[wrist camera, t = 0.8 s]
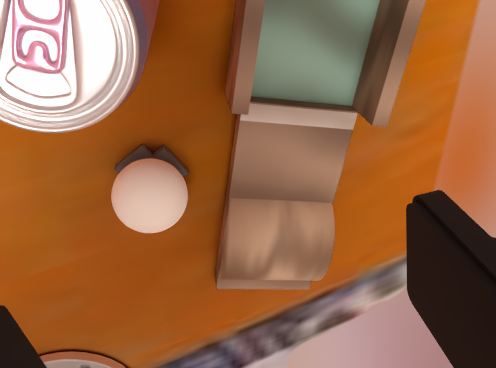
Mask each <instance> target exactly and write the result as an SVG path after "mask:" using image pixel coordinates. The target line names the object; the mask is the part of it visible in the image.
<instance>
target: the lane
mask: <svg viewBox="0 0 496 368" xmlns="http://www.w3.org/2000/svg"><path fill="white" fill-rule="evenodd" d="M425 2H426V0H236V5H235V14H234V22H233V30H232V39H231V47H230V55H229V64H228V72H227V81H226V89H225V94H226V97H227V100H228V104H229V107H230V110H231V113H232V114H237V118H236V125H235V132H234V140H233V147H232V154H231V162H230V169H229V176H228V184H227V191H226V198H225V206H224V213H223V220H222V228H221V235H220V242H219V250H218V257H217V264H216V272H215V282H216V289H305V290H309V289H310V285H311V281H318V280H321V279H322V278H323V277H324V276H325V274H326V273H327V271H328V268H329V266H330V263H331V259H332V254H333V248H334V238H335V222H334V212H333V206H332V205H333V201H334V197H335V194H336V190H337V186H338V183H339V179H340V175H341V172H342V168H343V165H344V161H345V157H346V154H347V150H348V146H349V143H350V139H351V135H352V132H353V128H354V125H355V121H356V118H357V114H358V113H360V114H361V115H362V116H363V117H364V118H365V119H366V120H367V121H368V122H369V123H370V124H371V125H372V126H382V127H387V124H388V121H389V118H390V115H391V111H392V108H393V105H394V102H395V98H396V95H397V92H398V89H399V86H400V82H401V79H402V76H403V73H404V70H405V66H406V63H407V60H408V57H409V54H410V50H411V47H412V44H413V41H414V38H415V34H416V31H417V28H418V25H419V22H420V18H421V15H422V12H423V9H424V6H425Z"/></svg>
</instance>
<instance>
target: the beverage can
mask: <svg viewBox="0 0 496 368" xmlns="http://www.w3.org/2000/svg"><path fill="white" fill-rule="evenodd" d="M159 3H160V0H0V121H2V122H4V123H7V124H9V125H12V126H15V127H18V128H21V129H25V130H29V131H34V132H40V133H65V132H72V131H77V130H80V129H84V128H86V127H89V126H91V125H93V124H96V123H97V122H99V121H101V120H103V119H104V118H105V117H107V116H108V115H109V114H111V113H112V112H113V111H114V110H116V109H117V108H118V107H119V106H120V105H122V104H123V103H124V102H125V101H126V100H127V98H128V97H129V96H130V95H131V93H132V92H133V91H134V89H135V87H136V86H137V84H138V82H139V80H140V78H141V75H142V73H143V70H144V66H145V62H146V58H147V54H148V50H149V46H150V41H151V37H152V33H153V29H154V25H155V21H156V17H157V12H158V8H159Z"/></svg>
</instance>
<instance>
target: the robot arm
mask: <svg viewBox="0 0 496 368" xmlns="http://www.w3.org/2000/svg"><path fill="white" fill-rule="evenodd" d="M406 229H407V291H408V295H409V298H410V300H411V302H412V304H413V306H414V307H415V309H416V310H417V312H418V313H419V315H420V316H421V318H422V319H423V321H424V323H425V324H426V326H427V327H428V329H429V330H430V332H431V333H432V335H433V336H434V338H435V340H436V341H437V343H438V344H439V346H440V347H441V349H442V350H443V352H444V353H445V355H446V356H447V358H448V360H449V361H450V363H451V364H452V366H453V367H454V368H496V238H493V237H491V236H490V235H488V234H487V233H486V232H485V231H484V230H483V229H482V228H481V227H480V226H479V225H478V224H477V223H475V221H473V220H472V218H470V217H469V216H468V215H467V214H466V213H465V212H464V211H463V210H462V209H461V208H460V207H459V206H458V205H457V204H456V203H455V202H454V201H453V200H451V199H450V198H449V197H448V196H447V195H446V194H445V193H444V192H443V191H440V190H437V191H433V192H429V193H425V194H421V195H417V196H415V197H414V198H413V203H411V204H408V205H407V208H406ZM0 368H126V367H124V366H123V365H122V364H120V363H118V362H116V361H114V360H112V359H110V358H107V357H104V356H101V355H97V354H92V353H87V352H72V351H71V352H57V353H52V354H47V355H43V356H40V357H39V355H38V354H37V352H36V351H35V349H34V348H33V346H32V345H31V343H30V342H29V340H28V339H27V337H26V336H25V334H24V333H23V332H22V330H21V329H20V327H19V326H18V324H17V323H16V321H15V320H14V318H13V317H12V315H11V314H10V312H9V311H8V309H7V308H6V307H5V306H3V305H1V306H0Z"/></svg>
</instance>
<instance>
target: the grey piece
mask: <svg viewBox="0 0 496 368" xmlns="http://www.w3.org/2000/svg"><path fill="white" fill-rule="evenodd" d="M152 157H153V158H154V159H159V160H162V161H165V162H167V163H169V164H171V165H172V166H174V167H175V168H176V169H177V170H178V171H179V172H180V173H181V175H182V176H183V178H184V177H185V176H186V175H188V174H189V172H188V169H187V168H186V167H185V166H184V165H183V164H182V163H181V162H180V161H179V160H178V159H177V158H176V157H175V156H174V155H173V154H172V153H171V152H170V151H169V150H168V149H167V148H166V147H165V146H164V145H163V146H162V147H161V148H159V149H158V150H157V151H156V152H154V153H152V152H151V151H150V150H149V149H148V148H147V147H146V146H145V145H144V144H142V145H141V146H139V147H138V148H137V149H136V150H134V151H133V152H132V153H131V154H129V155H128V156H127V157H126V158H124V159H123V160H122V161H121V162H119V163H118V164H117V165H116V166H115V170H116V171H117V172H118V173H120V172H121V170H122V169H124V168H125V167H126V166H127V165H129V164H130V163H132V162H134V161H137V160H141V159H147V158H152Z"/></svg>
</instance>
